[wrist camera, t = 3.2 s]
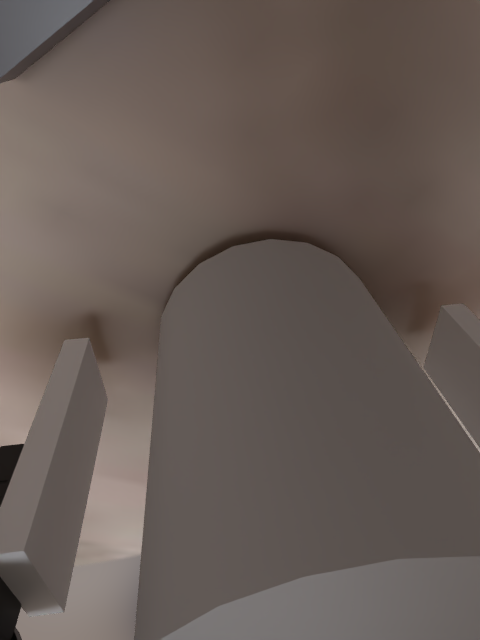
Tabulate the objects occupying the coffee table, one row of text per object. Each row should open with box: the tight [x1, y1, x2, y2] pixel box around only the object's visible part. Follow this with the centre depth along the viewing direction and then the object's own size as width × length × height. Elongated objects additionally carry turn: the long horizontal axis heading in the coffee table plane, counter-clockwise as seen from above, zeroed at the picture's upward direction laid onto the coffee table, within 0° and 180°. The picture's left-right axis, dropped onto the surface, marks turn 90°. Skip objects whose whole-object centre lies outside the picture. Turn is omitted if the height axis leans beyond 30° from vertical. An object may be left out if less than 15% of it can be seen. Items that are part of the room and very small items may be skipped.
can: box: [134, 239, 480, 640], centre depth 11 cm, size 8×8×12 cm
